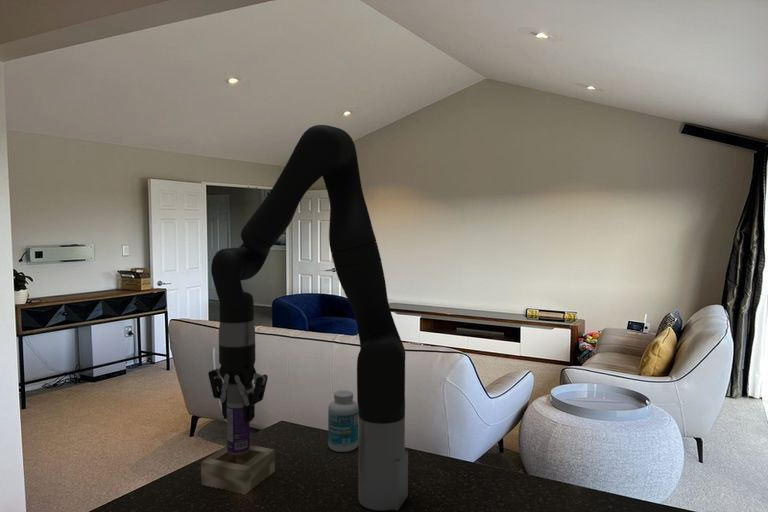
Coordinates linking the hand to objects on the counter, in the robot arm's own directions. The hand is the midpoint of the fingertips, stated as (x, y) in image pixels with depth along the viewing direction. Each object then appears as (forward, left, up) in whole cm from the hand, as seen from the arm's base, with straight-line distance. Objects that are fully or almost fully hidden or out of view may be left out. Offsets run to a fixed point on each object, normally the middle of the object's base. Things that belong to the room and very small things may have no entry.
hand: (238, 419), depth 117 cm
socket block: (0, 0, -13) cm, 13 cm away
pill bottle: (-14, -23, -13) cm, 30 cm away
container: (0, 0, -7) cm, 7 cm away
